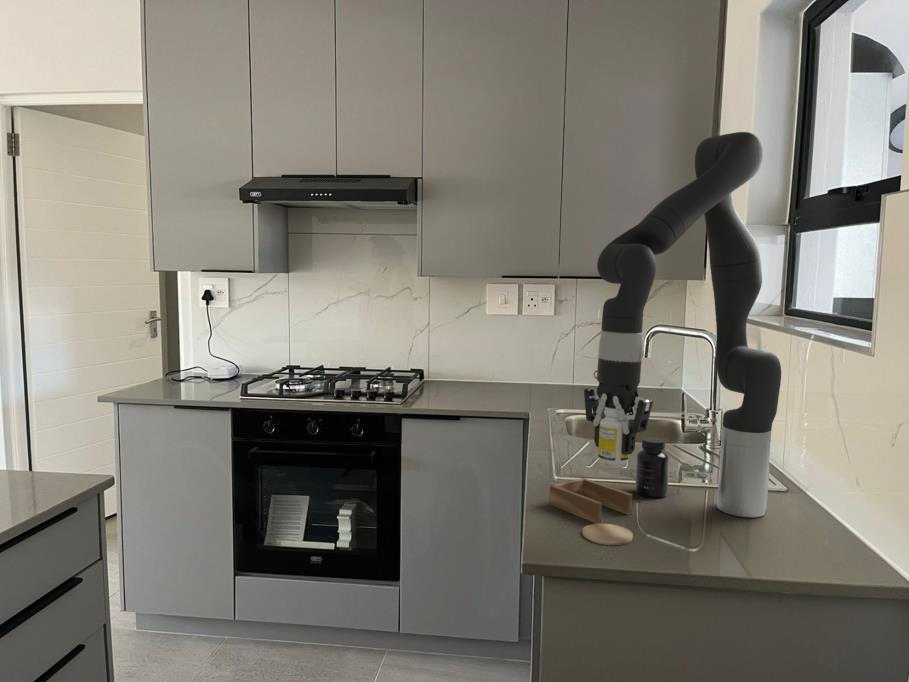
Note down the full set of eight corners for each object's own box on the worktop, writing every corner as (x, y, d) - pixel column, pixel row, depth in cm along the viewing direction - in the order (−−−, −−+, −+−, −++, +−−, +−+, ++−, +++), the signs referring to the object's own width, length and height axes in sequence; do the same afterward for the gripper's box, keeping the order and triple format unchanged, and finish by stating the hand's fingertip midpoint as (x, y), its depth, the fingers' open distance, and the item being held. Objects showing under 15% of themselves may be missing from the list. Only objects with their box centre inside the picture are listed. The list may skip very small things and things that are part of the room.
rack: (582, 496, 151) (583, 477, 151) (631, 514, 141) (632, 494, 141) (549, 504, 145) (550, 485, 145) (597, 524, 135) (598, 503, 134)
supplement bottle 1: (623, 457, 130) (627, 405, 129) (631, 465, 125) (635, 411, 124) (594, 456, 130) (597, 404, 129) (601, 464, 125) (605, 409, 124)
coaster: (604, 523, 135) (605, 520, 135) (643, 538, 128) (643, 535, 128) (572, 532, 130) (572, 529, 130) (610, 549, 123) (610, 546, 123)
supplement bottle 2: (642, 486, 159) (645, 434, 158) (672, 493, 155) (675, 439, 153) (629, 493, 154) (632, 439, 152) (659, 501, 149) (662, 445, 148)
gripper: (666, 361, 122) (659, 457, 124) (602, 351, 134) (596, 439, 135) (639, 363, 118) (632, 462, 119) (575, 353, 129) (569, 443, 131)
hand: (613, 449), depth 127 cm, fingers closed on supplement bottle 1, 5 cm apart
